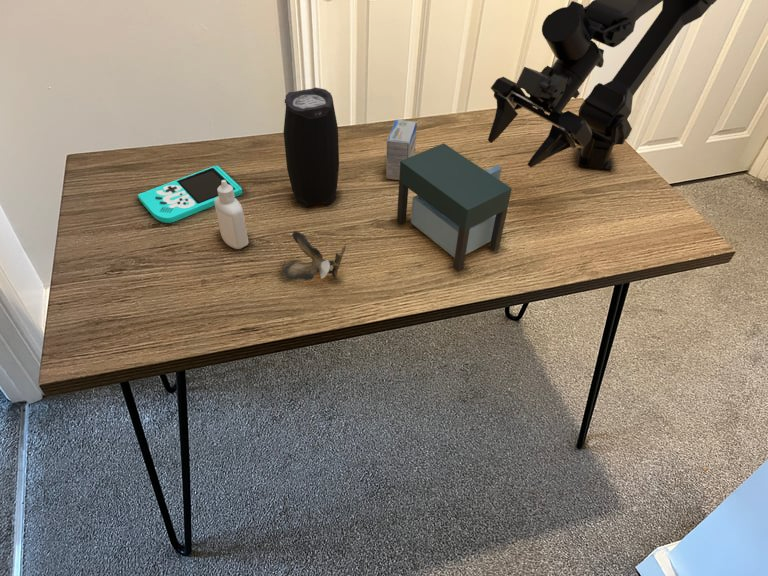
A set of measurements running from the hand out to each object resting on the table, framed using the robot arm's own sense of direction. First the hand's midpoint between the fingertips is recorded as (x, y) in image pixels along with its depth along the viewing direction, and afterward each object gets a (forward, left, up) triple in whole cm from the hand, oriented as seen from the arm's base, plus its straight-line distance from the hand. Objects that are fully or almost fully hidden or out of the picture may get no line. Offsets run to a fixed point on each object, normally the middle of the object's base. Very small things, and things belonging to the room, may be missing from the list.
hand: (508, 153), depth 101 cm
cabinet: (+9, -8, -12) cm, 17 cm away
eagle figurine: (+23, -28, -12) cm, 39 cm away
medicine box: (-9, -19, -12) cm, 24 cm away
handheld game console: (+8, -55, -12) cm, 57 cm away
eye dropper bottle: (+18, -43, -12) cm, 49 cm away
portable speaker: (+3, -33, -12) cm, 36 cm away
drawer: (+6, -6, -11) cm, 14 cm away
